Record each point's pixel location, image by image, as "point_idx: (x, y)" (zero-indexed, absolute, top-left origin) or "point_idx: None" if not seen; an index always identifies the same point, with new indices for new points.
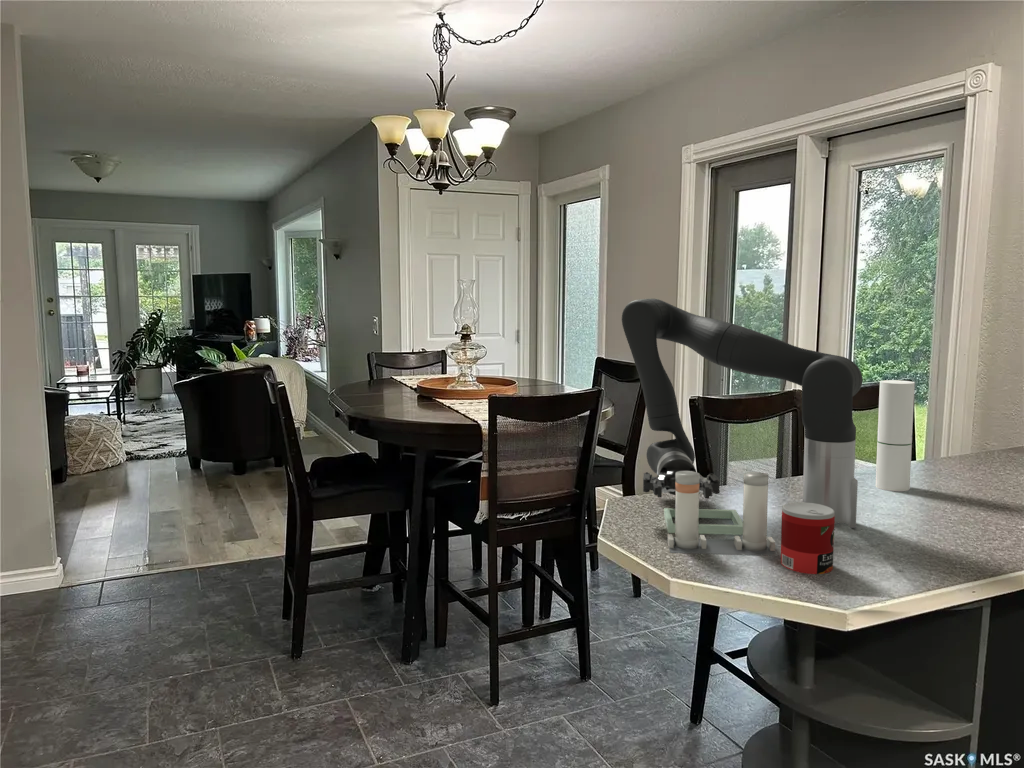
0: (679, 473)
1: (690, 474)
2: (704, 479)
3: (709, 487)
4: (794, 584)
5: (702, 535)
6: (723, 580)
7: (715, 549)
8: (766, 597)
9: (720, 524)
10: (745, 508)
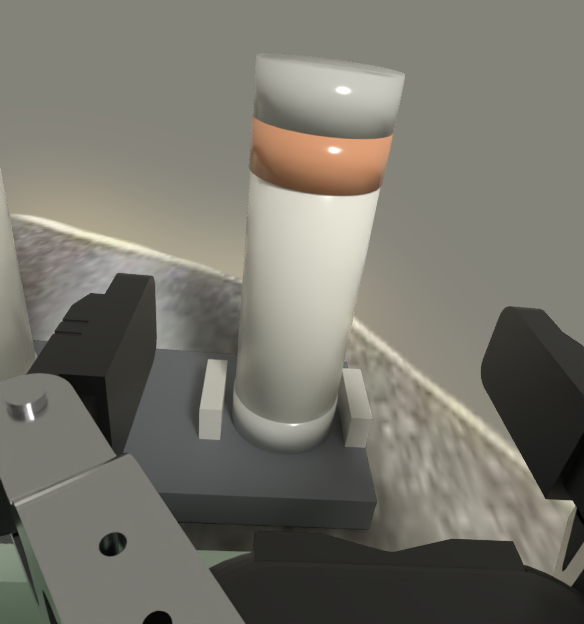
0: (379, 71)
1: (313, 60)
2: (16, 470)
3: (90, 318)
4: (25, 275)
5: (209, 404)
6: (201, 294)
7: (171, 381)
8: (135, 245)
9: (13, 580)
10: (9, 219)
